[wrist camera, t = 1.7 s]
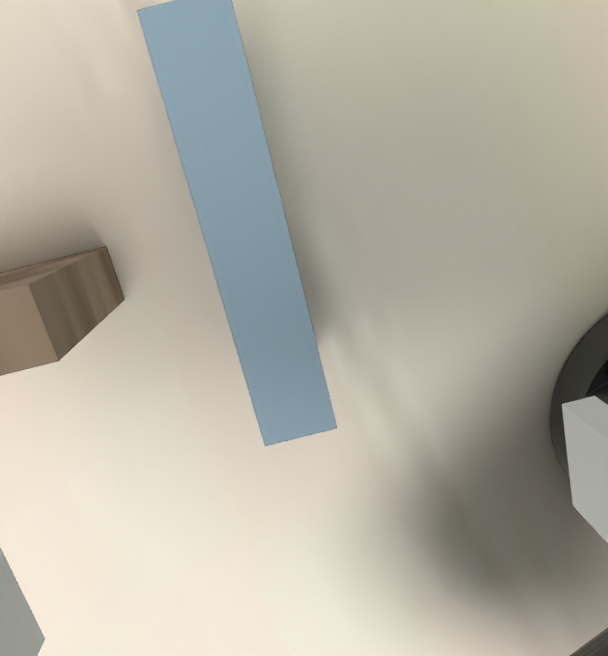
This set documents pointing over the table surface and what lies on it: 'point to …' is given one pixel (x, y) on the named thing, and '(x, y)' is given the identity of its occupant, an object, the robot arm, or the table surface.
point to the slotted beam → (53, 307)
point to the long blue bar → (239, 211)
